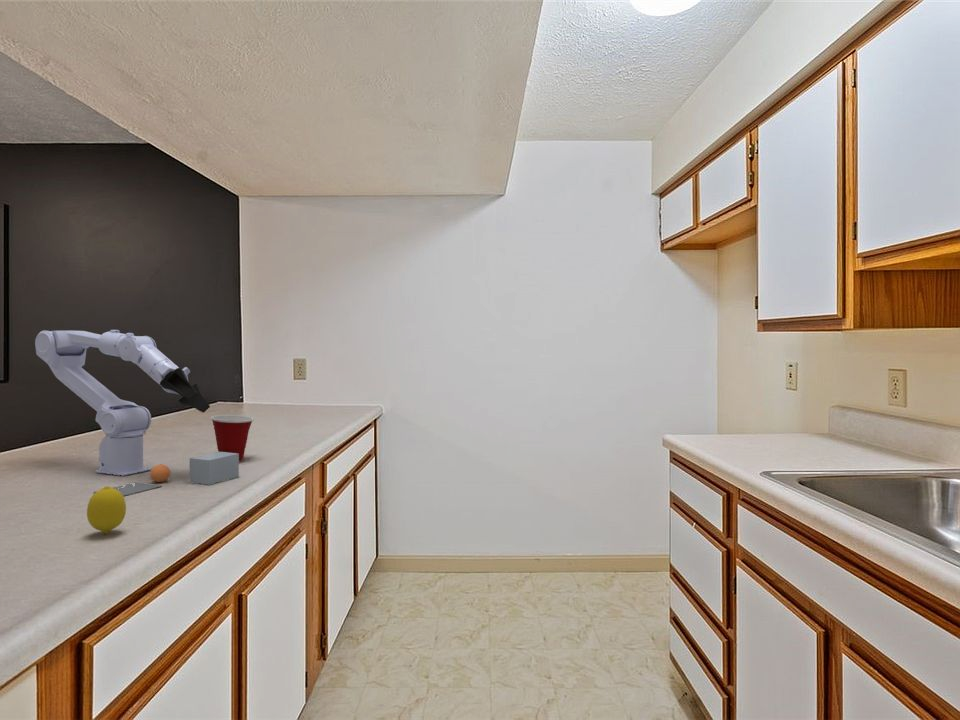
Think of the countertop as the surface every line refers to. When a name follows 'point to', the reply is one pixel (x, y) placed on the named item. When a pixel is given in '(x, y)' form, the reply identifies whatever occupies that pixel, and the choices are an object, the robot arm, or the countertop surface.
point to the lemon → (106, 509)
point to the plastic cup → (232, 433)
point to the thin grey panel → (134, 488)
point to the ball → (160, 473)
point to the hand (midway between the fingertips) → (200, 403)
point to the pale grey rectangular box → (214, 467)
